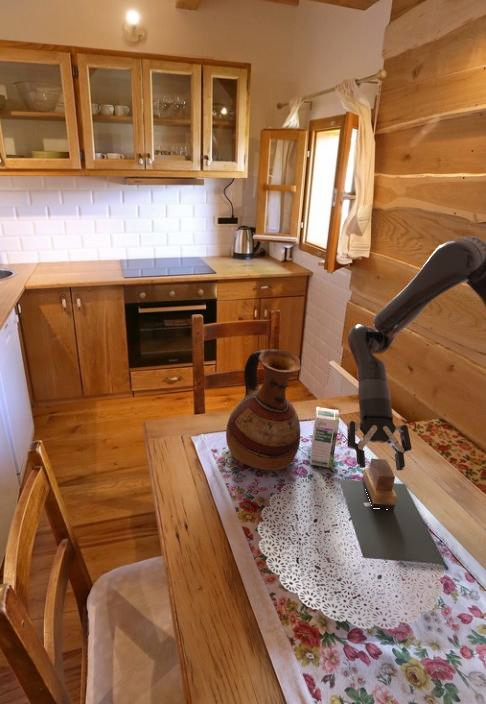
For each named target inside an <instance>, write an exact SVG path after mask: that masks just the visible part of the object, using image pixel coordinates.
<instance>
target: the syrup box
mask: <svg viewBox="0 0 486 704" xmlns="http://www.w3.org/2000/svg"><path fill="white" fill-rule="evenodd" d="M339 425H340V413H339V409H332V408H325V407H321V406H316V408H315V415H314V422H313V429H312V438H311V445H310V457H309V465H310V466H319V467H323V468H328V469H332V468H333V465H334V457H335V451H336V445H337V440H338V439H337V438H338V432H339Z"/></svg>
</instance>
